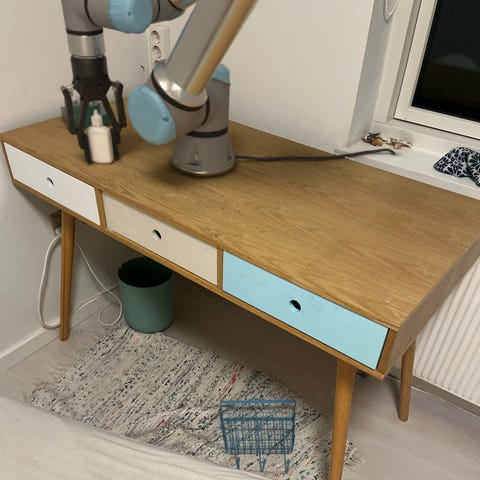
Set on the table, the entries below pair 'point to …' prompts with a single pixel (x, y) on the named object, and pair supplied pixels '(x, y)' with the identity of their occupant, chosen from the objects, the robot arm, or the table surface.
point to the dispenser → (88, 113)
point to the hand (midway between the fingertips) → (102, 158)
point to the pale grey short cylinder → (79, 101)
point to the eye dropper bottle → (99, 140)
